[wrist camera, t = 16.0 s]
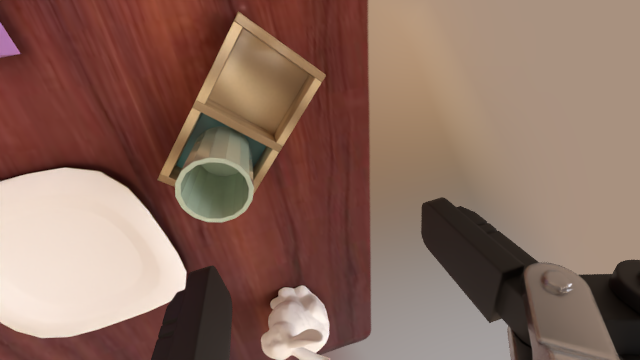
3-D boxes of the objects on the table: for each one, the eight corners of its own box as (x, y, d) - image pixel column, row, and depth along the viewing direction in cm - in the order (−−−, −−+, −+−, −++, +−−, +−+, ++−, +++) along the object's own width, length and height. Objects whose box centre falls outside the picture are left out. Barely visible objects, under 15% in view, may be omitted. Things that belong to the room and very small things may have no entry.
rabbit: (252, 302, 42) (254, 387, 32) (294, 263, 40) (310, 339, 30) (306, 326, 48) (323, 405, 37) (344, 293, 46) (373, 365, 36)
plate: (-123, 213, 25) (-146, 224, 24) (113, 145, 27) (106, 150, 26) (45, 340, 36) (36, 352, 35) (205, 283, 38) (204, 293, 37)
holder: (239, 14, 25) (238, 11, 22) (318, 71, 29) (326, 75, 26) (165, 166, 30) (157, 180, 27) (242, 197, 34) (242, 212, 31)
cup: (208, 115, 28) (194, 144, 20) (261, 142, 30) (266, 177, 23) (184, 163, 29) (162, 207, 22) (236, 185, 32) (233, 231, 24)
